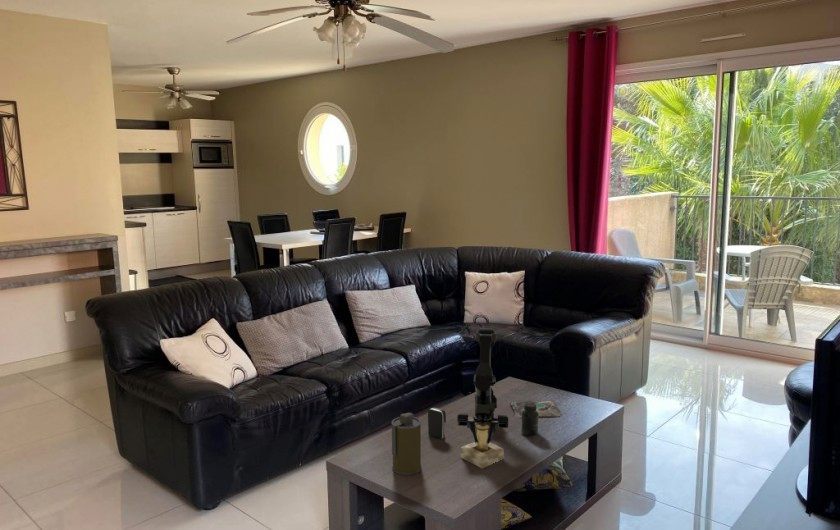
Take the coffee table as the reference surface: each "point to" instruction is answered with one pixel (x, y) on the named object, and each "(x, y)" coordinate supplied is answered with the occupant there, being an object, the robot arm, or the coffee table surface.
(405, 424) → the canister
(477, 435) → the brass capped cylinder
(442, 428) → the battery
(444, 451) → the coffee table surface
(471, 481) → the coffee table surface
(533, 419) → the supplement bottle
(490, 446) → the bore block
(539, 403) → the terrain model
